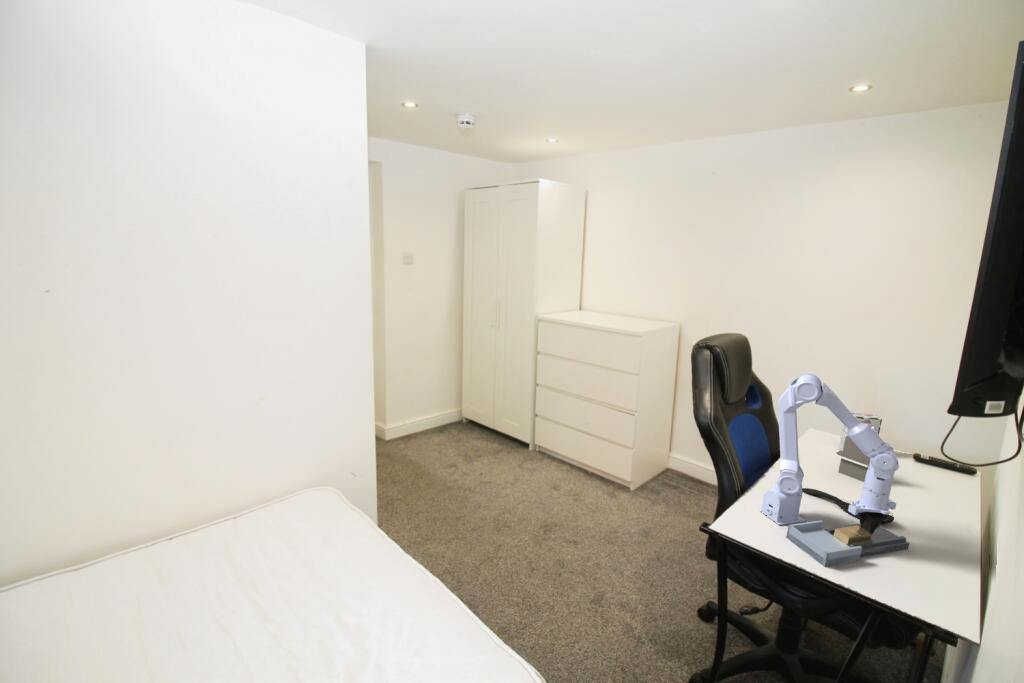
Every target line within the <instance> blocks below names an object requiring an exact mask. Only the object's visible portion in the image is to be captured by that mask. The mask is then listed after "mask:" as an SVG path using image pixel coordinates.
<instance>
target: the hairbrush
mask: <svg viewBox="0 0 1024 683" xmlns="http://www.w3.org/2000/svg"><path fill="white" fill-rule="evenodd" d="M802 491H803V492H804V494H805V495H812V496H816V497H817V496H818V497H822V498H825V499H827V500H830V501H832V502H835V504H836V505H837V506H838V508H840V509H841V510H842V509H843V510H842V511H843V512H844V513H845V514H847V513H848V514H847V515H849V516H850V517H852V518H854V517H855V518H854V519H856V518H857V520H859V521H860V519H859V516H858V514H857V515H854V514H852V513H851V512H849V511H848V508H849V505H851V504H854V503H855V502H854V501H852V503H851V502H849V501H844V500H846V499H844V500H843V498H842V499H840V498H838V497H837V496H835V495H833V494H830V493H827V492H825V491H822V490H819V489H815V488H807V487H806V488H805V487H802ZM894 521H895V516H894V513H893V512H891V511H890V514H887V518H886V519H885V520H883V521H882V522H881V524H883V525H885V524H889V523H893V522H894ZM881 524H880V525H881Z"/></svg>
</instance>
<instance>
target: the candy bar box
mask: <svg viewBox="0 0 1024 683" xmlns="http://www.w3.org/2000/svg"><path fill="white" fill-rule="evenodd" d="M851 413H852V414H853V416H854V417H855V418H856V419H857V420H858V421H859V422H861V423H866V424H868V425H869V426H870V427H872V426H873V427H874V428H875V429H876V430H877V432H875V433H876V434H877V435H878V436H879V437H880V430H881V425H882V420H883V418H881V417H879V416H878V415H876V414H870V413H869V414H868V413H859V412H858V413H855V412H851ZM842 425H843V426H842V432H841V436H840V441H839V442H840V443H839V447H838V450H839V451H843V447H844V443H845V438H846V436H847V437H848V435H847V432H848V428H847V427H846V426H845V425H844V424H842Z"/></svg>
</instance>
